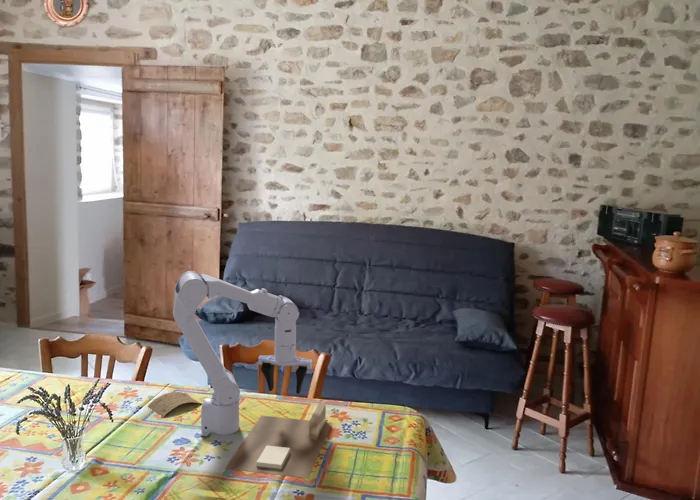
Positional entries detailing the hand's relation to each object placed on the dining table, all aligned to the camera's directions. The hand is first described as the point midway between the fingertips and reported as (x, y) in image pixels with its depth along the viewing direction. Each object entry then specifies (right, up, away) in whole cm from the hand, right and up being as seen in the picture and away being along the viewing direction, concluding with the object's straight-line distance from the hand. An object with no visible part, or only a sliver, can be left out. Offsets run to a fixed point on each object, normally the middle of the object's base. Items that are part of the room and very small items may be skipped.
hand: (284, 390), depth 166 cm
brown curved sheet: (-33, -7, +11) cm, 36 cm away
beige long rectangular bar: (+9, -9, -4) cm, 14 cm away
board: (+1, -12, -11) cm, 16 cm away
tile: (0, -11, -15) cm, 19 cm away
